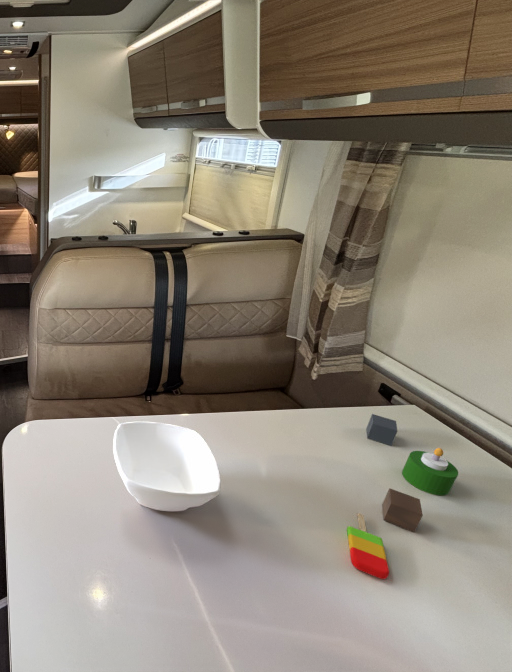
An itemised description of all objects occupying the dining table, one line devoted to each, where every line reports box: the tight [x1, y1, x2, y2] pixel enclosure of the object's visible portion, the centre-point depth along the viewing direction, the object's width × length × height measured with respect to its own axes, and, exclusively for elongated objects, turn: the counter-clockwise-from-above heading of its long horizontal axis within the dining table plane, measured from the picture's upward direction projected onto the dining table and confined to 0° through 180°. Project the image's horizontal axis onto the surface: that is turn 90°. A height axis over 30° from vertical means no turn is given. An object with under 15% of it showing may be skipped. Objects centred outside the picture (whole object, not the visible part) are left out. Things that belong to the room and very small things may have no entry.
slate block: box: [366, 413, 398, 447], centre depth 114 cm, size 5×5×5 cm
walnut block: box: [381, 488, 424, 533], centre depth 91 cm, size 5×5×5 cm
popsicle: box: [346, 512, 390, 580], centre depth 86 cm, size 6×15×2 cm, turn 148°
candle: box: [401, 447, 459, 497], centre depth 99 cm, size 8×8×10 cm
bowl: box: [112, 420, 222, 512], centre depth 97 cm, size 22×22×12 cm
